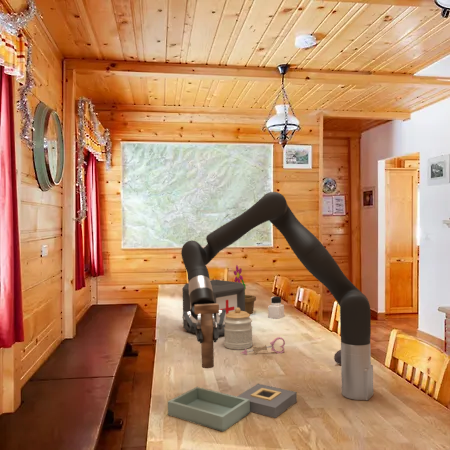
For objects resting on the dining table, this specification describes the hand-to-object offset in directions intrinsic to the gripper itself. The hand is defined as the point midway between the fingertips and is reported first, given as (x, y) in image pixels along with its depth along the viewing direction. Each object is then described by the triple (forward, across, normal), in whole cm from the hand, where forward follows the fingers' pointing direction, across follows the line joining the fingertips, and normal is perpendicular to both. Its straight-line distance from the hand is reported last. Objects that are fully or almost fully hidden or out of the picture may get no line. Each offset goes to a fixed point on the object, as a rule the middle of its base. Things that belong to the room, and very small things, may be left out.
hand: (208, 341), depth 131 cm
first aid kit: (-55, +20, +87) cm, 105 cm away
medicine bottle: (-70, +62, +102) cm, 139 cm away
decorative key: (-23, +33, +55) cm, 68 cm away
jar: (-33, +26, +65) cm, 78 cm away
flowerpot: (-82, +46, +114) cm, 148 cm away
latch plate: (+13, +18, +18) cm, 29 cm away
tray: (+14, 0, +17) cm, 22 cm away
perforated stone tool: (-7, +63, +39) cm, 74 cm away
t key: (+4, 0, +7) cm, 8 cm away
